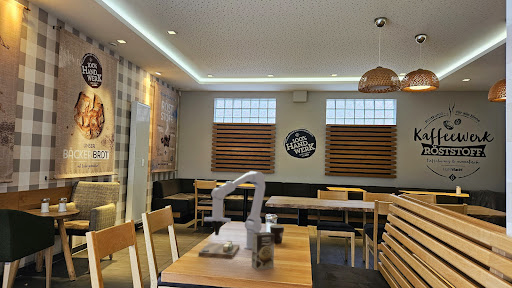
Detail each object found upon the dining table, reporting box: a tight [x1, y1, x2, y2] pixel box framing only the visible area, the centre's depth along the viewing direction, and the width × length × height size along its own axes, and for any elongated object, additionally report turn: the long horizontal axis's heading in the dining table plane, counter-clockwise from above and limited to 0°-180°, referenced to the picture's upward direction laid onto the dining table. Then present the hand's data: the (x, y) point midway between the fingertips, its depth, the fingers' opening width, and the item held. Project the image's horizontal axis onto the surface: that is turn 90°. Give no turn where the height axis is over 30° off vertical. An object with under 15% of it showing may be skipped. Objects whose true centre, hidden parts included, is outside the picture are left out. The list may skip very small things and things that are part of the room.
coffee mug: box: [269, 224, 285, 245], centre depth 216 cm, size 12×9×10 cm
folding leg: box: [223, 240, 233, 251], centre depth 191 cm, size 12×3×3 cm, turn 173°
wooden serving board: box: [198, 242, 240, 259], centre depth 191 cm, size 18×20×4 cm
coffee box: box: [251, 231, 275, 271], centre depth 167 cm, size 9×6×16 cm
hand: (216, 235), depth 190 cm, fingers closed
